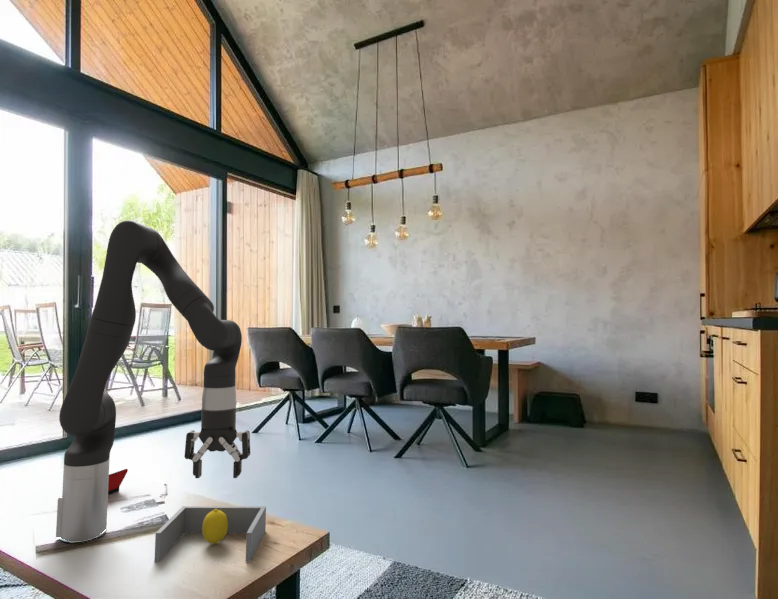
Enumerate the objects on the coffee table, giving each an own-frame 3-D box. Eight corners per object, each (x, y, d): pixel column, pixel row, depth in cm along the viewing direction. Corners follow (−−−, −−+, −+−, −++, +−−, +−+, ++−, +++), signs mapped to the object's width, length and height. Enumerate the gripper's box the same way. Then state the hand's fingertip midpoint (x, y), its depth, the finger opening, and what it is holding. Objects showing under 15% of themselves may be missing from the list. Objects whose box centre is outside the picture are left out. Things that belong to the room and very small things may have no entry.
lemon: (219, 551, 107) (220, 514, 107) (196, 548, 108) (197, 512, 109) (231, 540, 112) (233, 505, 113) (210, 538, 114) (211, 503, 114)
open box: (154, 562, 102) (155, 533, 102) (181, 531, 117) (182, 506, 117) (250, 561, 103) (251, 532, 103) (265, 531, 118) (266, 506, 118)
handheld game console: (100, 489, 146) (101, 464, 146) (128, 493, 143) (129, 468, 143) (60, 503, 134) (62, 476, 135) (89, 508, 131) (91, 480, 131)
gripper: (181, 409, 108) (179, 482, 107) (246, 408, 109) (244, 482, 108) (193, 403, 115) (191, 472, 115) (253, 403, 116) (252, 472, 115)
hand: (217, 477), depth 111 cm, fingers open, 8 cm apart
